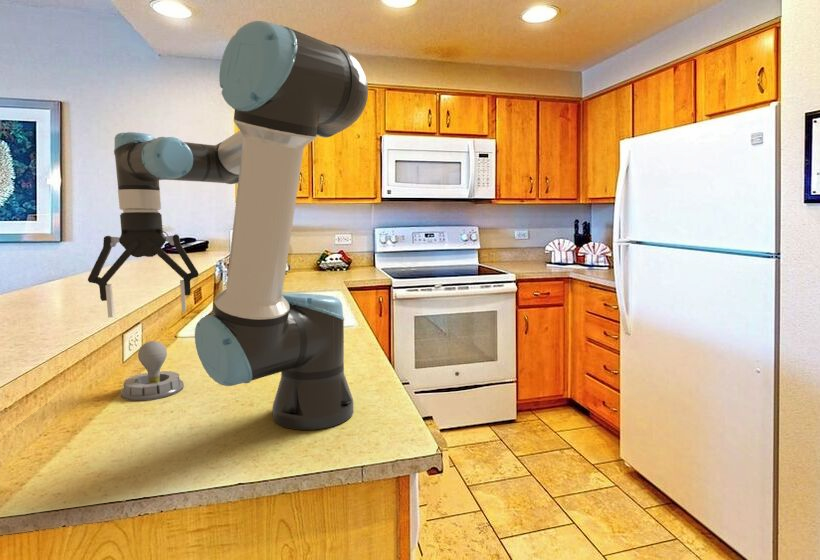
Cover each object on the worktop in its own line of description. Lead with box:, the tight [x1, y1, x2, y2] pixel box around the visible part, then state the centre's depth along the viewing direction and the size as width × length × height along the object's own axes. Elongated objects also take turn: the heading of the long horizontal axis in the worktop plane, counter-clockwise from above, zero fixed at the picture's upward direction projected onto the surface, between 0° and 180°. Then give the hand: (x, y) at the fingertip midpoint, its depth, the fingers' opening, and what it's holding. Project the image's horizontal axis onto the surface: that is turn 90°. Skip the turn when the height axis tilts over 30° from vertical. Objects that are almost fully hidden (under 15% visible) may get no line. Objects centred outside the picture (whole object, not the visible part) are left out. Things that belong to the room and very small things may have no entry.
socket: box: [120, 370, 184, 402], centre depth 106 cm, size 12×12×3 cm
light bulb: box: [137, 340, 168, 384], centre depth 106 cm, size 6×5×10 cm
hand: (148, 313), depth 104 cm, fingers open, 13 cm apart
